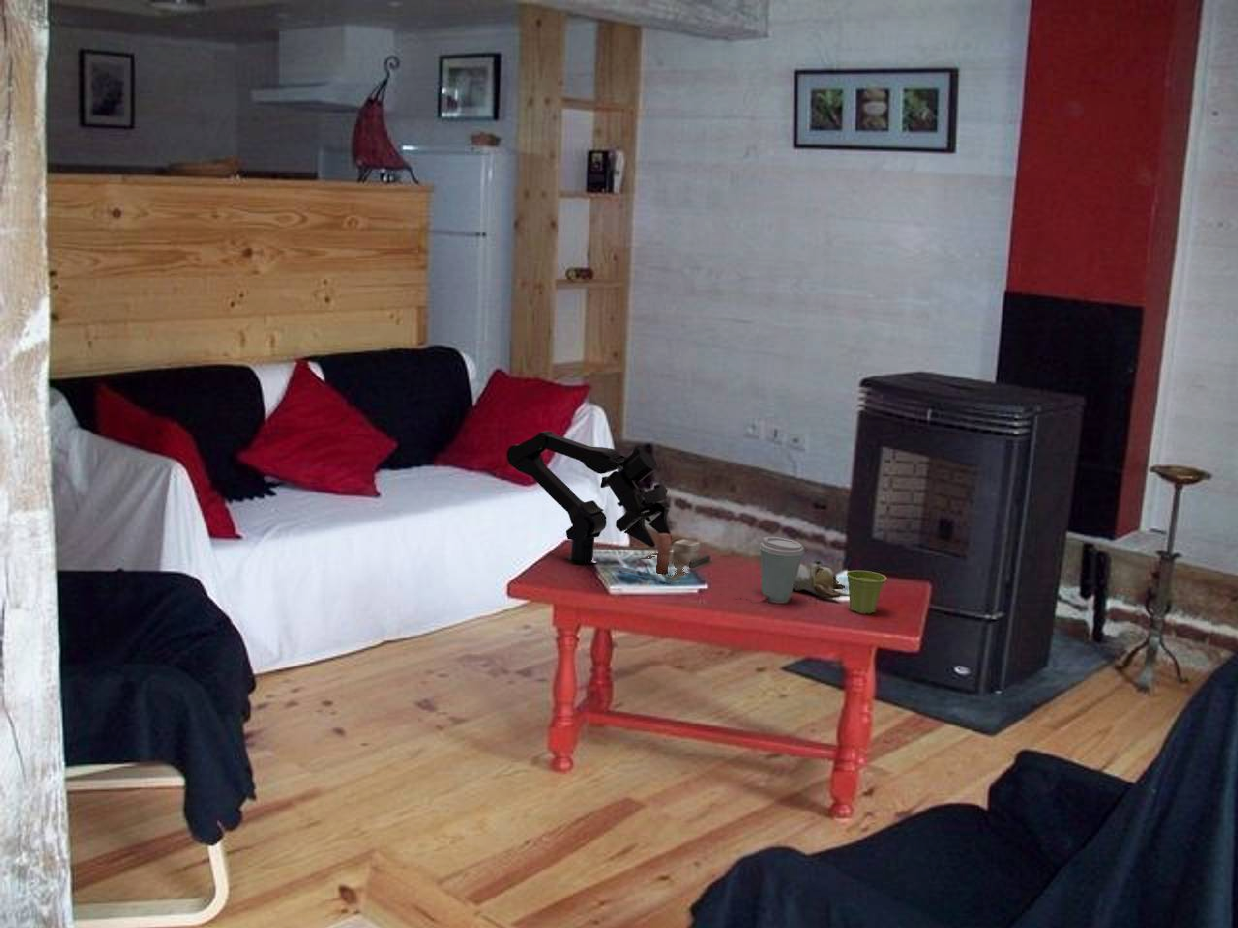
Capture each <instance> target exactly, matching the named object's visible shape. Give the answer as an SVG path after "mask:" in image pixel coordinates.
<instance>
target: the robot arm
mask: <svg viewBox="0 0 1238 928" xmlns="http://www.w3.org/2000/svg"><path fill="white" fill-rule="evenodd" d="M546 450H548V451H552V452H553V453H556V454H560V455H562V456H566V457H568V458H570V459H573V460H576V461H579V462H581V463H582V464H584V466H585V467H586V468H588V469H590V470H591V471H593V472H594V473H597V474H599V475H603V474H607V473H610V472H611V474H609V475H608V476H607V475H605V476H602V477H601V482H600V489H606V488H608V487H609V488H610V489H611V491H612V493H613V494H614V495H615V497H616V498H617V499H618V502H617V505H618V507H623V508H624V511H626V512H625V513H624V514H623V515H621V516H620V517H619V518H618V519H617V520H616V523H615V527H616V528H617V529H618V531H619V533H621V532H623V533H624V534H627V535H629V536H631V538H634V539H636V540H638V541H640V542H641V543H643V544H645V545H646V546H648V547H650V548H652V549H653V548H654V547H656V544H655V542H654V540H653V538H652V536H651V534H650V533H649V530H648V529H647V527H646V521H647V522H648V525H649V526H650V527H651V528H652V529H654V530H655V531H656V532H657V533H658V535H659V534H660V533H668V534H671V541H672V540H673V537H672V533H671V530H670V527H669V523H668V518H667V517H668V514H669V512H670V508H671V505H670V504H669V502H667V499H668V496H667V494H668V492H669V490H668V489H667V488H666V485H664V484H663V483H662V482H661V483H658V484H657V483H656V484H654V485H653V487H652V489H650V490H647V491H646V490H645V489H644V487H643V488H642V487H640V488H639V487H638V486H637V485H636V483H635V482H638V483H639V482H642V481H643V480H644V479H645V478H646V477H648V476H649V475H650V474H651V473H653V472H654V471H655V470H656V469H657V468H658V463H657V461H656V460H655V458H654V456H653V455H651V454H650V453H648V452H647V451H645V450H644V449H643V448H642V447H637V448H635V449H634V450H633V452H632V453H631V454H630V455H629V456H625V455H622V454H620V453H619V452H618V450H616V449H614V448H612V447H611V448H609V447H605V446H604V447H602V446H591V445H586V444H585V443H581V442H579V441H576V440H573V439H570V438H567V437H565V436H562V435H559V434H556V433H554V432H552V431H551V430H547V431H541V432H539V433H537V434H535V435H534V436H533V437H531V438H529V439H526V440H525V441H523V442H521V443H517V444H512V445H511V446H509V447H508V448H507V450H506V453H505V454H506V455H505V456H506V458H505V459H506V462H507V463H508V465H509V466H511V467H512V468H514V469H515V470H517V471H518V472H520V473H522V474H525V475H526V476H527V475H528V476H529V477H531V478H532V480H534V481H535V482H536V483H537V484H538V485H539V486H540V487H541V488H542V489H543V490H544V491H545V492H546V493H547V494H548V495H549V496H550V497H551V498H552V499H553V500H554V501H555V502H557V504H558V505H559V506H560V507H561V508H563V510H564V511H566V513H567V515H568V517H569V521H570V523H571V524H572V525H571V526H569V527H568V529H566V530H565V535H566V539H567V540H570V541H571V545H570V546H571V547H570V555H566V556H565V558H566V560H568V561H569V562H570V563H572V564H573V565H592V564H591V563H590V562H591V560H592V558H593V557H594V546H595V538H598V537H600V535H601V533H602V531H604V530H605V528H606V527H607V516H606V514H605V513H604V511H605V509H603V508H601V507H599V505H598V504H597V503H596V501H594V500H593V499H592V500H588V501H583V500H582V499H581V498H580V497H579V496H578V495H577V494H576V493H575V492H574V491H573V490H572V489H570V487H569V486H567V485H566V483H564V482H563V481H562V480H561V479H560V478H559V477H558V476H557V475H556V474H555V473H554V472H553V470H552V469H550V468H549V467H548V466H547V465H546V464H545V462H544V459H543V456H542V453H544V452H545V451H546ZM621 468H622V469H621ZM618 469H620V470H619V471H618ZM593 559H594V558H593Z"/></svg>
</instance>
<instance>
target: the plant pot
mask: <svg viewBox="0 0 1238 928" xmlns="http://www.w3.org/2000/svg"><path fill="white" fill-rule="evenodd" d="M846 576H847V581H848V586H849V609H850V610H851V611H855V612H856V613H860V614H866V613H868V614H871V613H873V612H874V613H875V612H876V610H877V606H878V602H879V599H880V595H881V592H882V588H883V586H884V584H885V581H887V577H886V576H885V575H884V574H881V573H878V572H873V571H868V570H851V571H847V572H846Z"/></svg>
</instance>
